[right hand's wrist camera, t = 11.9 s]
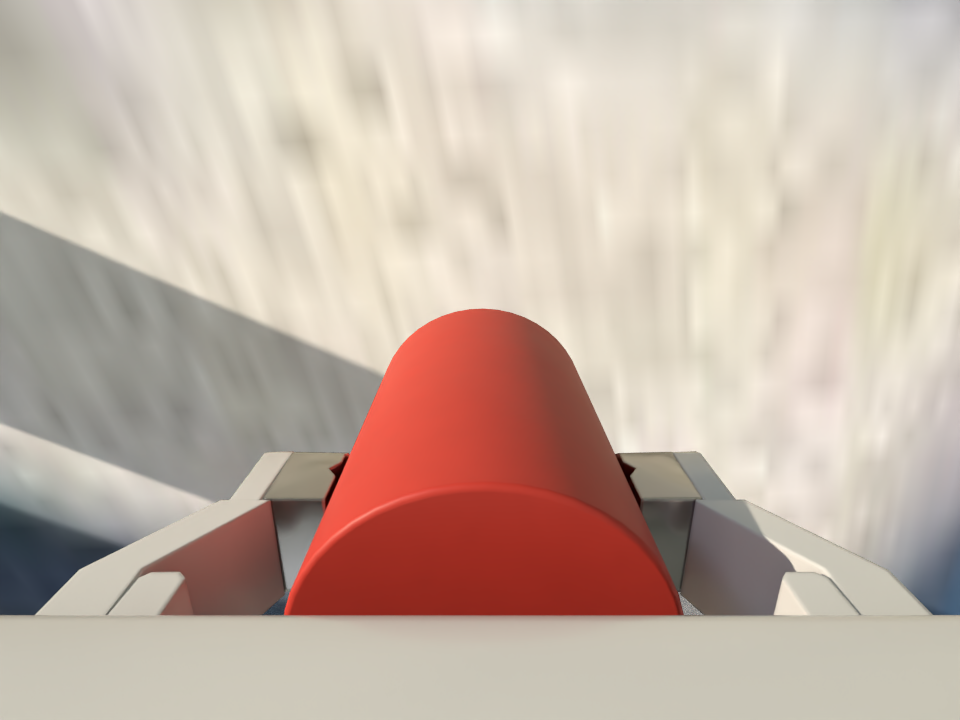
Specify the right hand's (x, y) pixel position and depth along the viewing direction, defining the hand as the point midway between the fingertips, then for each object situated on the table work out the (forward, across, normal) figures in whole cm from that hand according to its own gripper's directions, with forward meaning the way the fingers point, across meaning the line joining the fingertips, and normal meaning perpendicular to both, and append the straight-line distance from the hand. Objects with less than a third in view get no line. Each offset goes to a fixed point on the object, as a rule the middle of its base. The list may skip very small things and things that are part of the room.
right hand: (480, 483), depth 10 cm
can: (+3, 0, 0) cm, 3 cm away
